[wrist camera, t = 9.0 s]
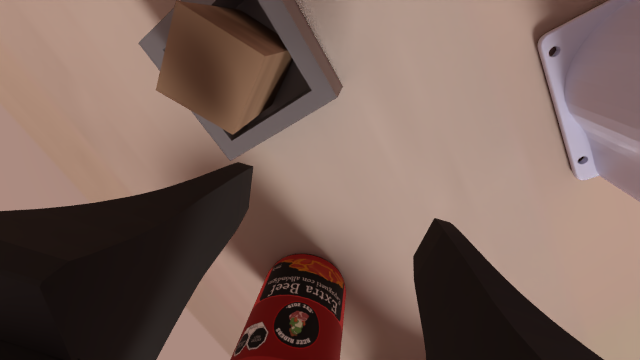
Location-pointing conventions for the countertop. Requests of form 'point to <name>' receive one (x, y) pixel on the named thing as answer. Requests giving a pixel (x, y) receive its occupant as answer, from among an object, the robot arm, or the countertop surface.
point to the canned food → (296, 313)
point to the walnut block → (222, 64)
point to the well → (297, 87)
